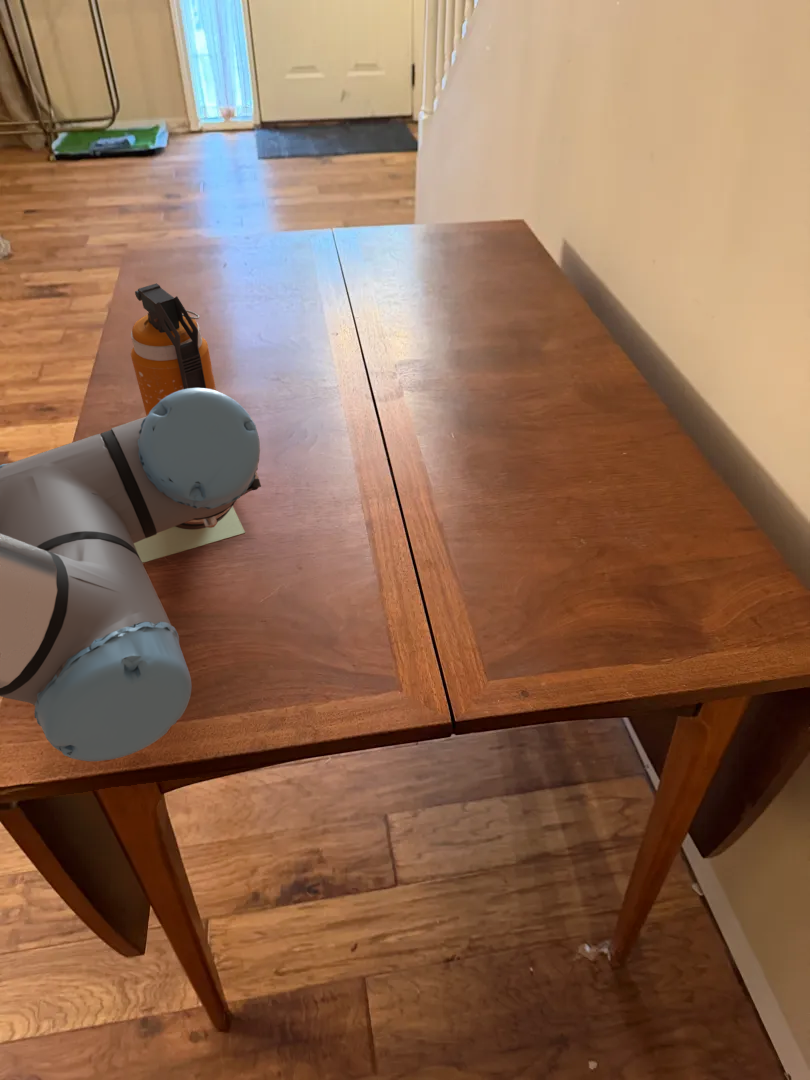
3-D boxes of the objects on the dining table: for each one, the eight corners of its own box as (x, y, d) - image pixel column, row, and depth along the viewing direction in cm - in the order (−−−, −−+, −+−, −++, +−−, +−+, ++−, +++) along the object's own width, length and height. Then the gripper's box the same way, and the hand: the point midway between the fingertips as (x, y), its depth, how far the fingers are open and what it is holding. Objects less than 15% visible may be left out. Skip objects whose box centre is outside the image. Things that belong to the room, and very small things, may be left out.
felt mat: (137, 564, 84) (137, 564, 84) (117, 499, 92) (117, 499, 92) (245, 533, 88) (245, 532, 88) (216, 473, 96) (216, 473, 95)
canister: (202, 409, 106) (174, 267, 92) (245, 447, 99) (221, 300, 86) (141, 433, 101) (102, 287, 88) (181, 474, 95) (146, 324, 82)
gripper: (125, 547, 61) (134, 563, 83) (284, 501, 65) (251, 528, 87) (96, 455, 61) (112, 496, 83) (257, 415, 65) (231, 465, 87)
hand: (184, 513), depth 85 cm, fingers closed
